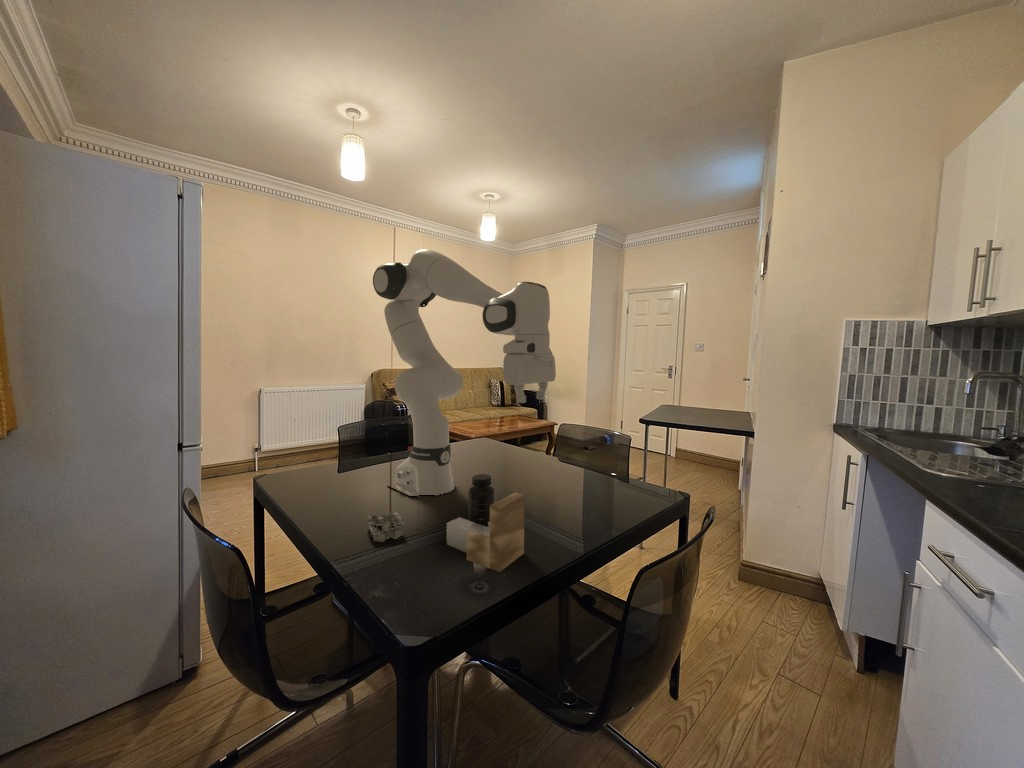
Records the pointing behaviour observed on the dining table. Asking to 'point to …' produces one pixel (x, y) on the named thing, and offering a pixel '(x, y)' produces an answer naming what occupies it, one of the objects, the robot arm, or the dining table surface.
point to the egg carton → (386, 525)
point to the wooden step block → (500, 535)
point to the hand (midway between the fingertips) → (531, 400)
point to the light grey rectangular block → (463, 532)
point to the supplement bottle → (481, 499)
